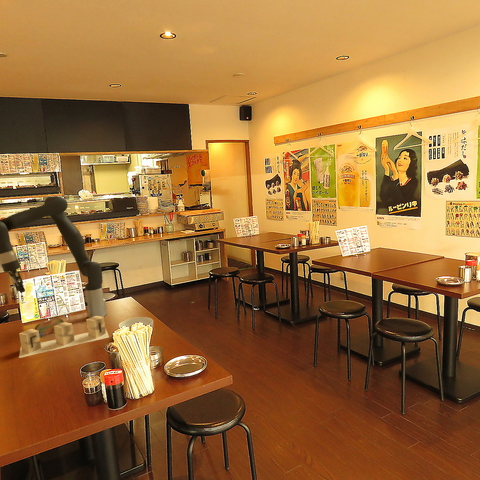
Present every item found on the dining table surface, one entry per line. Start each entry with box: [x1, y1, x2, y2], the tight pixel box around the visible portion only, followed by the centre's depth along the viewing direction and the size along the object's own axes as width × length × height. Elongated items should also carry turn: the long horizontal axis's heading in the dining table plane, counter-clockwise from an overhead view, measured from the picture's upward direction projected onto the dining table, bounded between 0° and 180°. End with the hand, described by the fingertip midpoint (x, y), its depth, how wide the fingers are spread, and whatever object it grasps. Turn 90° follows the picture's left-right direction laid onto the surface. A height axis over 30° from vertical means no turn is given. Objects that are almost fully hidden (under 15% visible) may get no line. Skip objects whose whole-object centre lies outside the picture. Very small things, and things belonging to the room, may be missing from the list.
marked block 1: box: [86, 316, 107, 338], centre depth 200 cm, size 6×6×9 cm
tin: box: [34, 317, 65, 339], centre depth 207 cm, size 15×3×8 cm, turn 143°
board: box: [18, 328, 110, 359], centre depth 195 cm, size 40×14×1 cm, turn 116°
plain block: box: [54, 321, 75, 345], centre depth 194 cm, size 6×6×9 cm
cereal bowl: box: [118, 316, 154, 330], centre depth 198 cm, size 17×17×7 cm
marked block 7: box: [18, 328, 41, 353], centre depth 187 cm, size 6×6×9 cm
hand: (21, 291), depth 195 cm, fingers open, 8 cm apart
